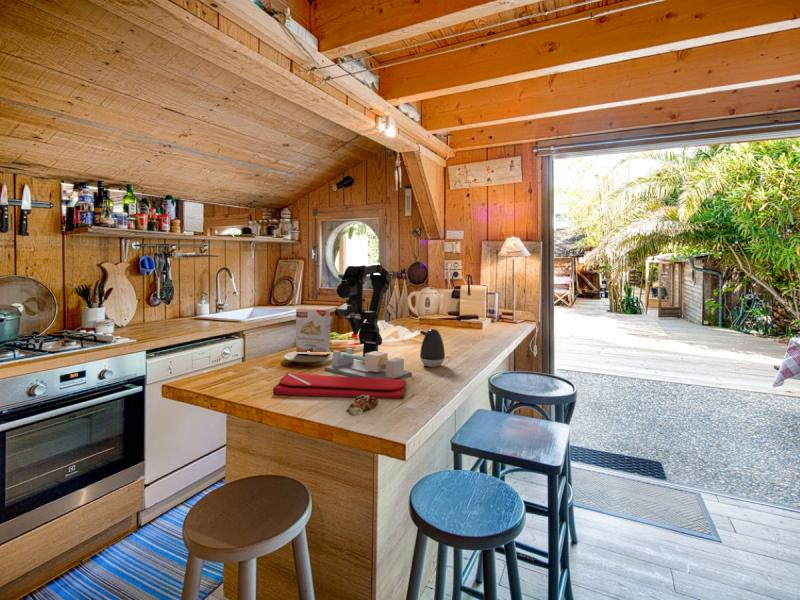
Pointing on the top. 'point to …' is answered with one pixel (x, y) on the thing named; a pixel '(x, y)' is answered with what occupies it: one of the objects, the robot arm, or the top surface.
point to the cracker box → (312, 330)
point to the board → (358, 367)
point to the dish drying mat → (339, 386)
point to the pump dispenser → (432, 349)
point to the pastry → (361, 404)
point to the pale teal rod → (381, 363)
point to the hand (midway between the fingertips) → (355, 335)
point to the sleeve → (374, 361)
